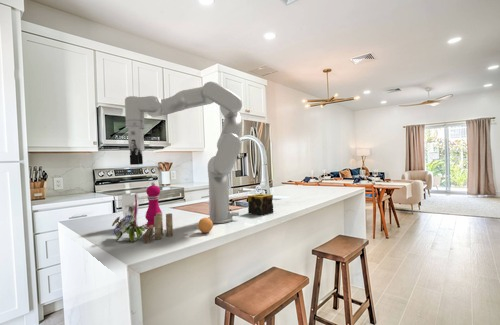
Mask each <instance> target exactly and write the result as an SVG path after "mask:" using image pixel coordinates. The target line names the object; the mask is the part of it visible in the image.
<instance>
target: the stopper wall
mask: <svg viewBox="0 0 500 325" xmlns="http://www.w3.org/2000/svg"><path fill="white" fill-rule="evenodd" d="M154 234H155V233H154V225H150V226H149V227H147V229H146V231H144V234H143V244H149V243H150V241H151V239H152V237H153V235H154Z"/></svg>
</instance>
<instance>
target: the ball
mask: <svg viewBox="0 0 500 325" xmlns="http://www.w3.org/2000/svg"><path fill="white" fill-rule="evenodd" d="M197 223H198V224H197V229H198V230H199V231H200V232H201V233H204V234H206V233H209V232H211V231H212V229H213V227H214V223H212V221H211V220H210V219H209V218H208V217H203V218H201V219H200V220H199V221H198V222H197Z"/></svg>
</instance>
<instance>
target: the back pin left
mask: <svg viewBox="0 0 500 325" xmlns="http://www.w3.org/2000/svg"><path fill="white" fill-rule="evenodd" d="M153 234H154V240H159V241H160V240H161V239H162V235H161V216H154V233H153Z"/></svg>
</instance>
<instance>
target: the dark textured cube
mask: <svg viewBox="0 0 500 325" xmlns="http://www.w3.org/2000/svg"><path fill="white" fill-rule="evenodd" d="M273 197H274V195H273V194H267V193H266V194H265V193H257V194H256V193H255V194H250V195H248V196H247V203H248V205H247V206H248V209H247V211H248V214H249V213H252V214H251V215H255V214H257V216H261V215H263V216H265V215H264V214H267V215H269V214H268V213H270V214H273V213H272V212H274V203H273Z"/></svg>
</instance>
